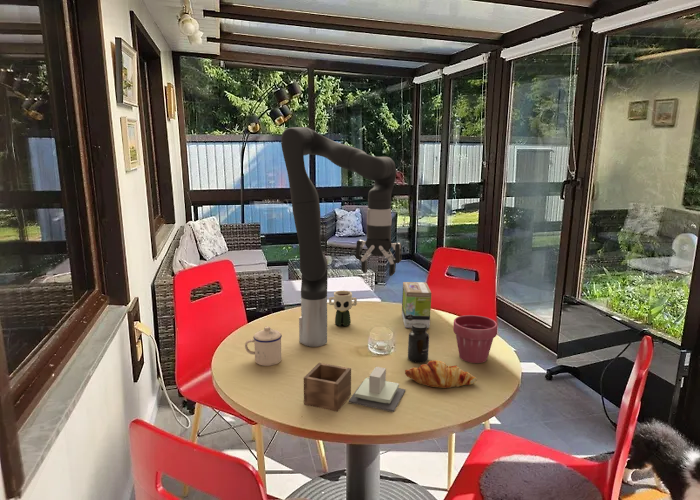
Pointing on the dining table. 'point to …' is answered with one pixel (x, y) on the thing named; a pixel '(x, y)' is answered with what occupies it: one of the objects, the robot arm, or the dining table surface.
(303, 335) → the robot arm
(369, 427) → the dining table surface
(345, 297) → the character mug
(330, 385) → the walnut box
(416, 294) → the tea box
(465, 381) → the croissant
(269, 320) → the dining table surface
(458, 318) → the plant pot
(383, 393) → the lid
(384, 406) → the rubber pad
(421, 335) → the supplement bottle
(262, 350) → the teacup with lid
